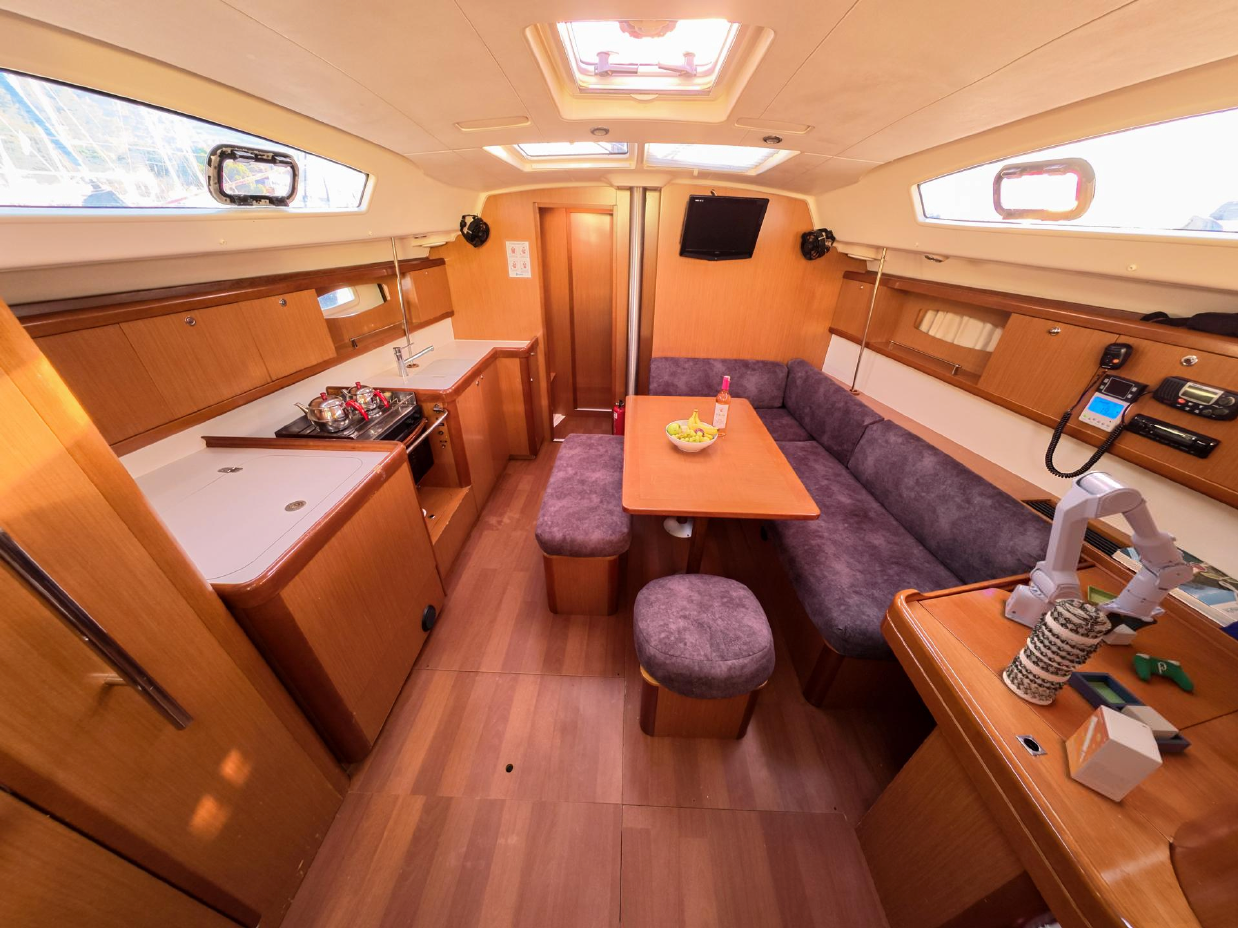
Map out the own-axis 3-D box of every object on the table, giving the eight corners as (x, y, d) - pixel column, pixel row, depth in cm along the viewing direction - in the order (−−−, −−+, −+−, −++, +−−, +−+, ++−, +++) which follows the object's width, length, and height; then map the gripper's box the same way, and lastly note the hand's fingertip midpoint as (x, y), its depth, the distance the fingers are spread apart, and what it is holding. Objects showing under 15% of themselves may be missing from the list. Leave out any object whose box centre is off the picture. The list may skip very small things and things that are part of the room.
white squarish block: (1108, 644, 103) (1117, 633, 101) (1088, 628, 107) (1097, 617, 106) (1128, 644, 103) (1137, 633, 101) (1107, 628, 107) (1115, 618, 106)
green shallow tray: (1083, 604, 115) (1087, 598, 114) (1084, 589, 121) (1088, 584, 120) (1129, 622, 110) (1133, 616, 109) (1127, 606, 115) (1131, 600, 114)
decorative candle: (1031, 709, 87) (1096, 629, 76) (990, 671, 95) (1043, 593, 84) (1065, 703, 88) (1134, 624, 77) (1022, 666, 96) (1078, 589, 85)
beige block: (1142, 741, 81) (1154, 730, 79) (1115, 716, 85) (1126, 705, 83) (1166, 742, 81) (1179, 730, 79) (1138, 717, 85) (1150, 706, 83)
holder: (1141, 751, 80) (1151, 742, 78) (1065, 679, 93) (1072, 671, 92) (1182, 752, 80) (1192, 743, 78) (1100, 680, 93) (1107, 672, 92)
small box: (1063, 742, 81) (1100, 703, 75) (1109, 765, 77) (1151, 726, 71) (1069, 777, 75) (1109, 737, 69) (1119, 803, 72) (1165, 764, 66)
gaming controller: (1179, 689, 94) (1175, 662, 96) (1197, 692, 90) (1192, 664, 92) (1128, 677, 96) (1125, 650, 98) (1144, 679, 93) (1140, 652, 95)
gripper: (1131, 605, 95) (1099, 644, 101) (1192, 607, 95) (1156, 646, 101) (1100, 584, 101) (1071, 622, 107) (1157, 586, 101) (1125, 623, 107)
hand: (1110, 632), depth 104 cm, fingers closed on white squarish block, 5 cm apart
